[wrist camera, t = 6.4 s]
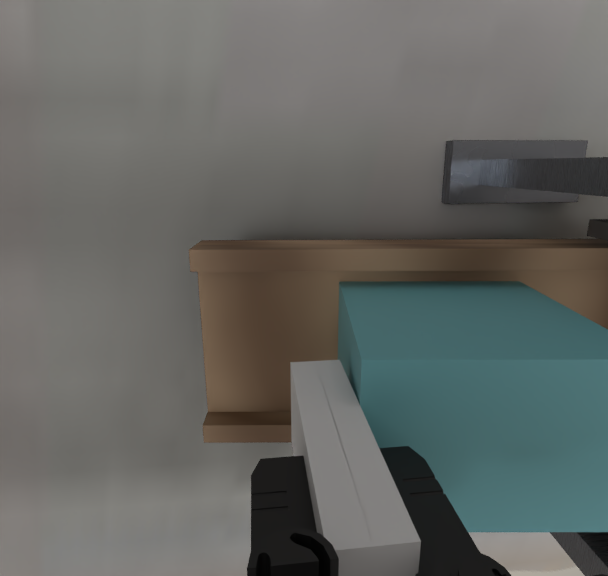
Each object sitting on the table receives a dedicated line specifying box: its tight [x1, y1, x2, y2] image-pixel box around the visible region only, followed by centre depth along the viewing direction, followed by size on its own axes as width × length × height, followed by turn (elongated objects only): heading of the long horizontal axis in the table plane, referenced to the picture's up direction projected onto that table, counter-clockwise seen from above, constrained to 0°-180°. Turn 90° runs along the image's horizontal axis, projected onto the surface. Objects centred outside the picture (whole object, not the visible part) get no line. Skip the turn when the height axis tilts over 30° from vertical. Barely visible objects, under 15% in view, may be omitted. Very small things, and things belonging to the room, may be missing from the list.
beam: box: [189, 219, 608, 442], centre depth 18 cm, size 32×11×11 cm, turn 90°
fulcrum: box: [442, 140, 608, 576], centre depth 18 cm, size 7×16×12 cm, turn 0°
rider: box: [338, 281, 608, 532], centre depth 14 cm, size 7×5×7 cm
